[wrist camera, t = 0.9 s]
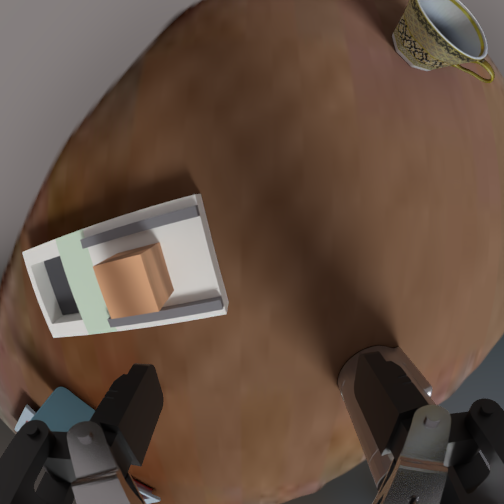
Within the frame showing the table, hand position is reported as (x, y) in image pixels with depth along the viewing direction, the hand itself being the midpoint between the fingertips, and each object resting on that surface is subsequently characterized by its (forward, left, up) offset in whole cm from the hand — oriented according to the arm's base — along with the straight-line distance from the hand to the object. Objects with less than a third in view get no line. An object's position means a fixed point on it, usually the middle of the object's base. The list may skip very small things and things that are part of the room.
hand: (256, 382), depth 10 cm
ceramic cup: (-27, -21, -20) cm, 39 cm away
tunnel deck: (+16, -2, -20) cm, 25 cm away
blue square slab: (+34, +20, -20) cm, 45 cm away
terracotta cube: (+11, -2, -17) cm, 20 cm away
